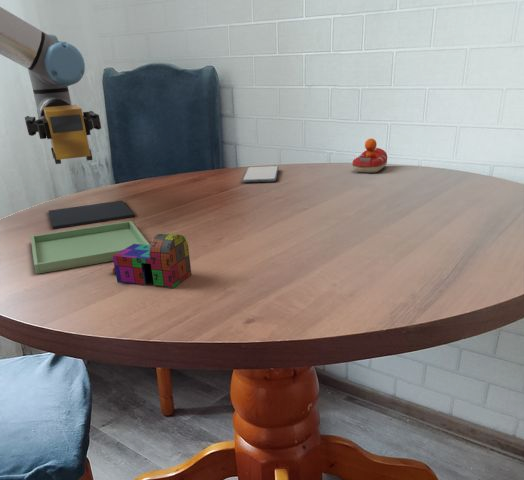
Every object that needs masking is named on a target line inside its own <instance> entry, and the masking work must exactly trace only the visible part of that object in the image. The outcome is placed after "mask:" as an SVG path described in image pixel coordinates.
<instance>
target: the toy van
mask: <svg viewBox="0 0 524 480" xmlns="http://www.w3.org/2000/svg"><path fill="white" fill-rule="evenodd" d="M43 109H44V113H45V118H46V119H47V121H48V124H49V128H50V133H51V137H52V139H49V140H50V143H51V147H50V150H51V155H52V159H54V163H55V165H61V164H62V161H61V160H69V159H77V158H85V159H86V161H87V162H88V161H93V153H92V150H91V148H90V145H89V141H88V135H87V134H86V129H85V124H84V119H83V109H82V108H81V107H80V106H78V105H77V104H71V105H66V106H54V107H43Z"/></svg>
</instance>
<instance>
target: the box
mask: <svg viewBox="0 0 524 480" xmlns="http://www.w3.org/2000/svg"><path fill="white" fill-rule="evenodd" d="M30 243H31V250H32V261H33V267H34V270H35V274H36V275H39V274H45V273H51V272H56V271H62V270H67V269H68V270H69V269H73V268H79V267H86V266H90V265H97V264H103V263H109V262H114V261H113V255H115V254H117V253H118V252H120V251H122V250H124V249H126V248H127V247H129V246H131V245H133V244H142V245H151V243H149V242H148V239H146V238H145V236H144V235H143V234H142V232H141V231H140V230H139V229H138V227H137V226H136V225H135V224H134V222H133V221H132V220H129V221H128V220H127V221H119V222H114V223H107V224H101V225H95V226H93V225H92V226H88V227H87V226H86V227H80V228H74V229H66V230H61V231H55V232H47V233H42V234H35V235H30Z"/></svg>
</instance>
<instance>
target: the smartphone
mask: <svg viewBox="0 0 524 480" xmlns="http://www.w3.org/2000/svg"><path fill="white" fill-rule="evenodd" d="M278 172H279V165H271V166H270V165H269V166H266V165H265V166H249V167H247V169H246V171H245V174H244V175H243V178H242V183H272V182H276V181H277V176H278Z"/></svg>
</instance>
